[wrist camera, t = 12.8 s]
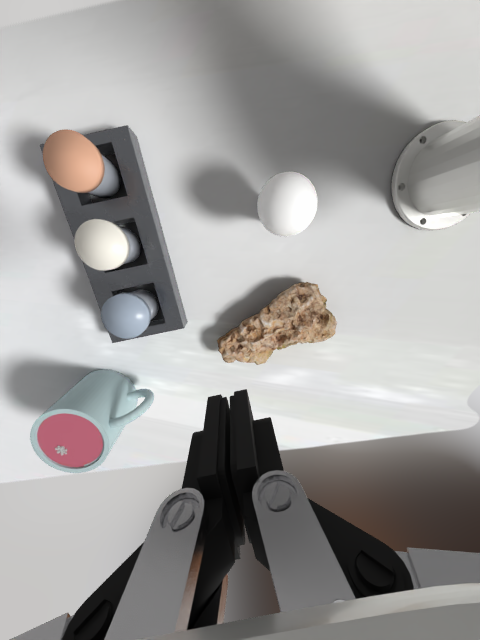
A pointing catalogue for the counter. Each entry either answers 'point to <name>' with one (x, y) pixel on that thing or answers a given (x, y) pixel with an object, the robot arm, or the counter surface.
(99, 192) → the terracotta key
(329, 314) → the rock
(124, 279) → the key panel
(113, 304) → the light blue cylinder
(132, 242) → the cream key
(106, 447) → the mug
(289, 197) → the lightbulb
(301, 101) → the counter surface
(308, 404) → the counter surface
